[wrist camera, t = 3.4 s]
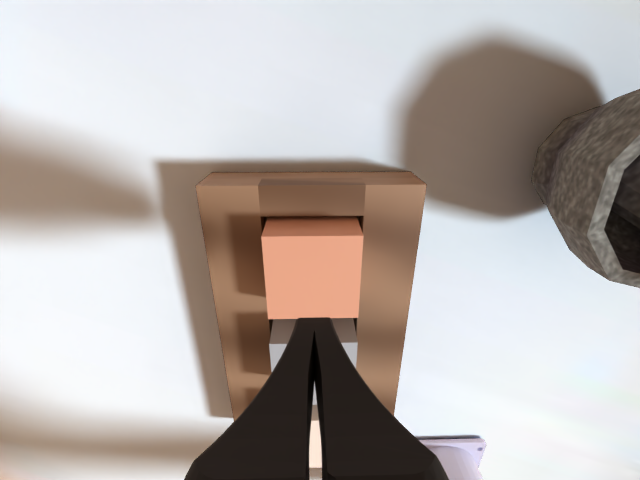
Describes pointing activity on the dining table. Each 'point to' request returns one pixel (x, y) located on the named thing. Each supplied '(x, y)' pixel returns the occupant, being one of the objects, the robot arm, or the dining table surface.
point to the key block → (248, 269)
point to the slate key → (285, 328)
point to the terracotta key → (312, 266)
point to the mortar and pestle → (596, 186)
